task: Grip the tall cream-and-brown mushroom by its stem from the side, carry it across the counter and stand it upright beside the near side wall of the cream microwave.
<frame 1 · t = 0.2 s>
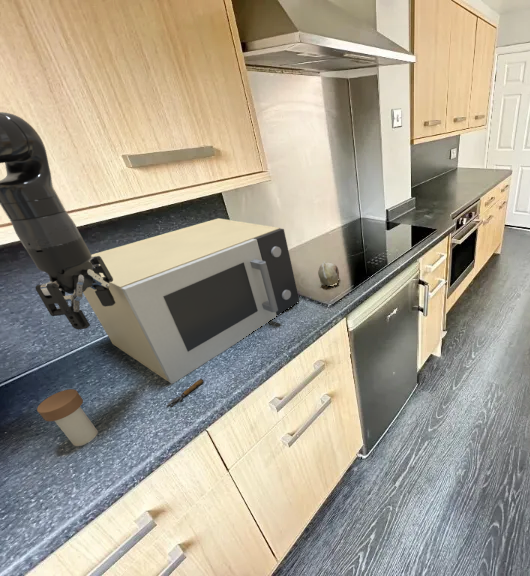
hand: (97, 316, 64), 23 cm above the worktop, tool pointing down, fingers open, 8 cm apart
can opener: (186, 394, 75), on the worktop
garlic bulb: (331, 284, 123), on the worktop
microwave door: (221, 307, 84), point 14 cm above the worktop, hinge at 0.0°
mushroom: (85, 437, 66), on the worktop
microwave: (211, 321, 104), on the worktop
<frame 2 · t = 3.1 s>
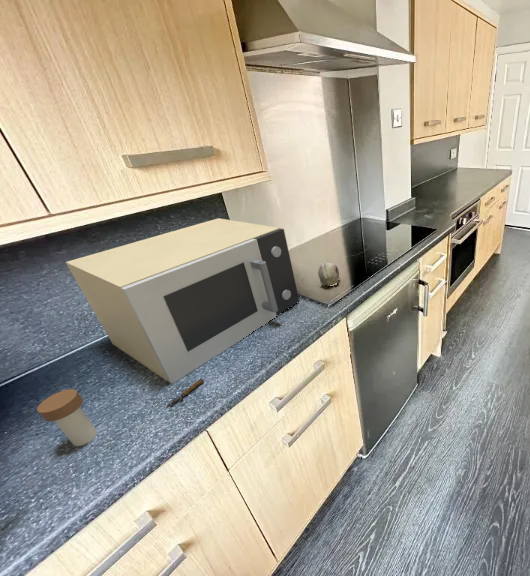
nothing on the worktop moved.
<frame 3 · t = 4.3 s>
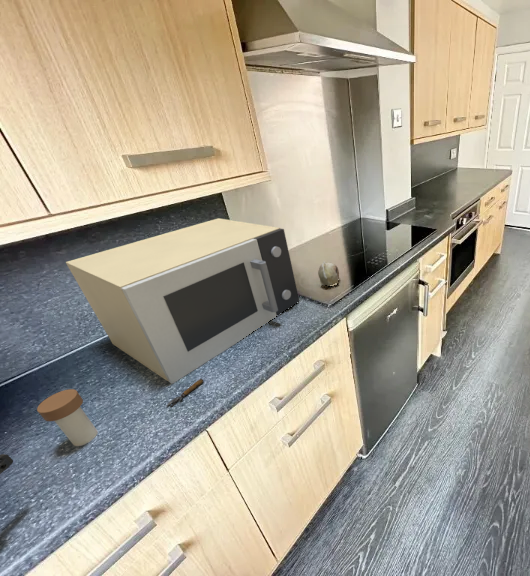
nothing on the worktop moved.
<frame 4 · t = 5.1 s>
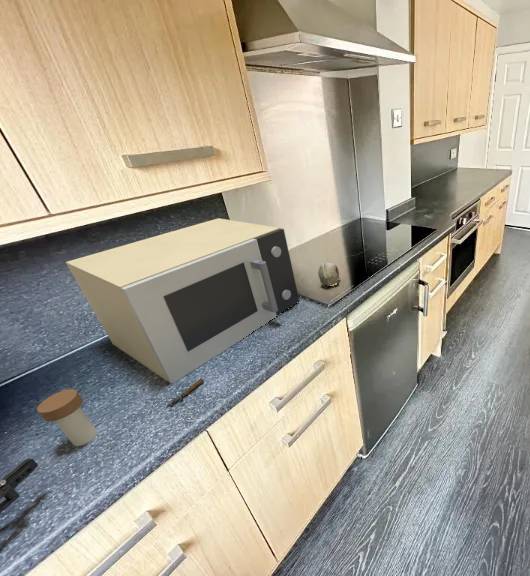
hand: (13, 459, 54), 7 cm above the worktop, tool horizontal, fingers open, 8 cm apart
nothing on the worktop moved.
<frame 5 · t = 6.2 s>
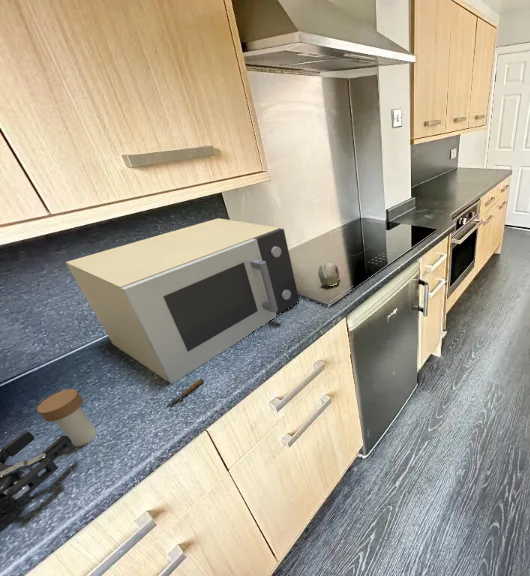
hand: (49, 436, 60), 6 cm above the worktop, tool horizontal, fingers open, 8 cm apart
nothing on the worktop moved.
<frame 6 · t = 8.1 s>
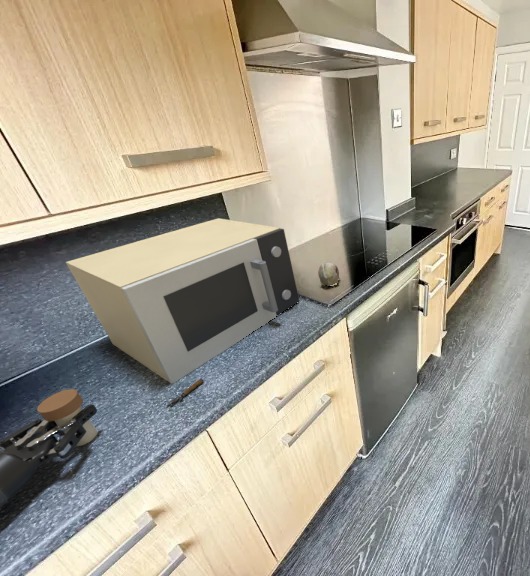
hand: (83, 406, 66), 6 cm above the worktop, tool horizontal, fingers closed on mushroom, 4 cm apart
mushroom: (85, 437, 66), on the worktop, touching gripper
everything else where it was.
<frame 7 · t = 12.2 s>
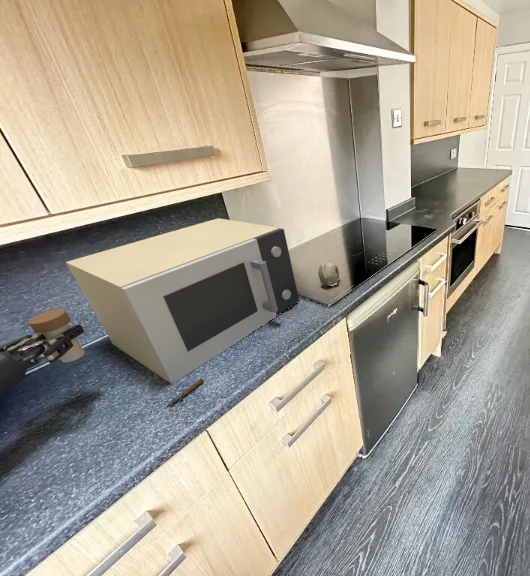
hand: (72, 327, 71), 18 cm above the worktop, tool horizontal, fingers closed on mushroom, 4 cm apart
mushroom: (73, 356, 71), point 12 cm above the worktop, touching gripper
everything else where it was.
when the fingers open (6 cm above the worktop, at t = 16.6 s): mushroom stays where it is, on the worktop.
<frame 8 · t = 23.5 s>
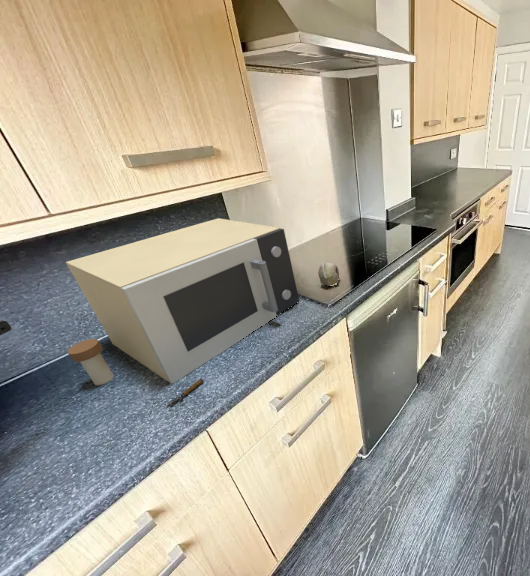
mushroom: (104, 379, 82), on the worktop
everything else where it was.
at the end: mushroom tilted 0°; mushroom moved 20.1 cm from its start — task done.
